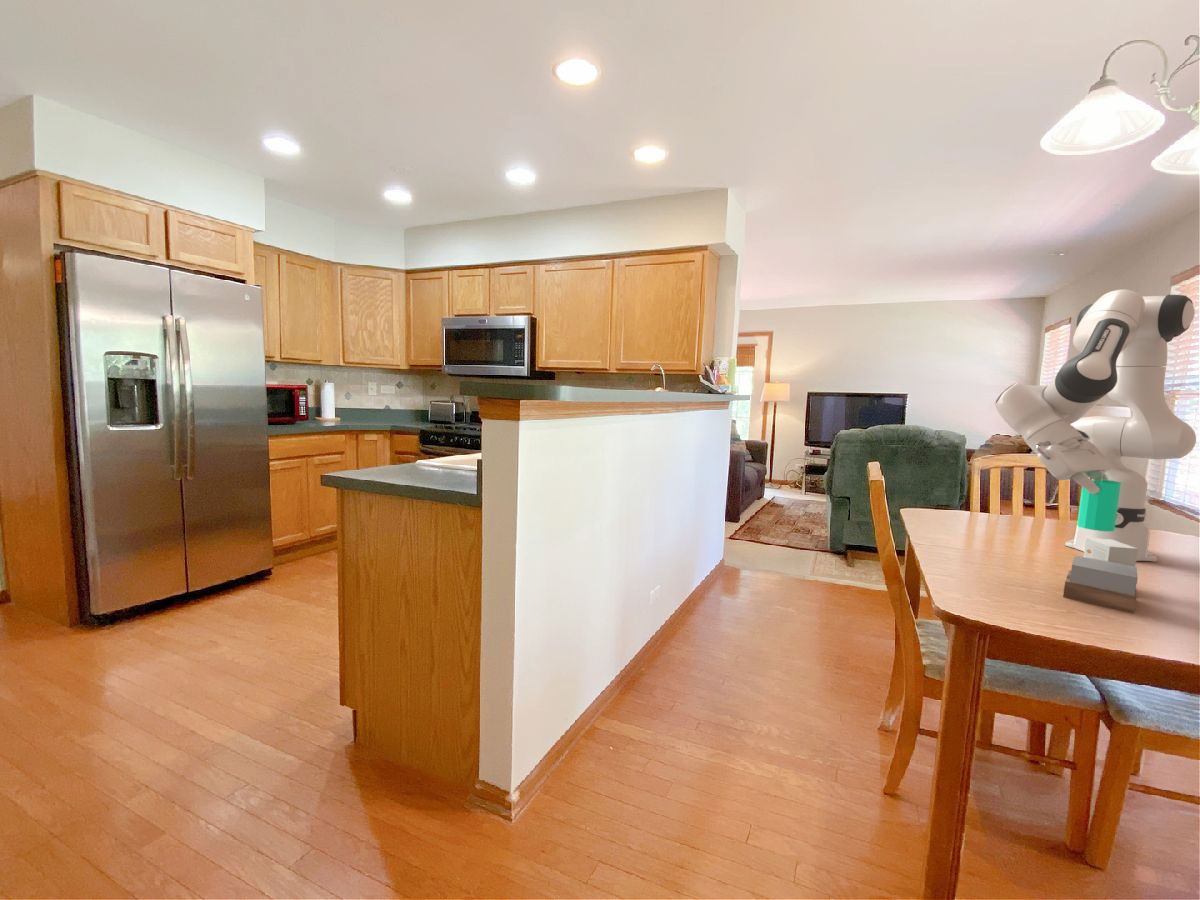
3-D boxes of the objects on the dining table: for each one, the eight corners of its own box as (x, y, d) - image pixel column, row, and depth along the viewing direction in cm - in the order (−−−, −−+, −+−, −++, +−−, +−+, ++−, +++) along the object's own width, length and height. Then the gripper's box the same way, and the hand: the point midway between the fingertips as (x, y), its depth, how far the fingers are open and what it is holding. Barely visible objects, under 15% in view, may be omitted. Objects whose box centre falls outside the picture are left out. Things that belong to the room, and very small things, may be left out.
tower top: (1072, 572, 122) (1074, 555, 121) (1133, 584, 115) (1136, 566, 114) (1069, 582, 114) (1072, 564, 114) (1134, 596, 108) (1137, 577, 107)
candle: (1115, 528, 115) (1122, 474, 114) (1113, 533, 111) (1120, 477, 110) (1078, 523, 120) (1085, 471, 118) (1075, 527, 116) (1082, 473, 114)
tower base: (1066, 586, 123) (1069, 570, 123) (1133, 601, 115) (1136, 584, 115) (1062, 599, 115) (1065, 581, 115) (1133, 615, 108) (1136, 597, 107)
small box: (1132, 593, 119) (1139, 548, 118) (1103, 591, 120) (1110, 546, 119) (1106, 581, 127) (1112, 538, 125) (1079, 578, 128) (1085, 536, 126)
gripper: (1045, 433, 114) (1097, 486, 107) (1089, 432, 124) (1139, 480, 116) (1019, 451, 119) (1067, 503, 111) (1063, 449, 128) (1109, 496, 121)
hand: (1104, 491), depth 114 cm, fingers closed on candle, 5 cm apart
